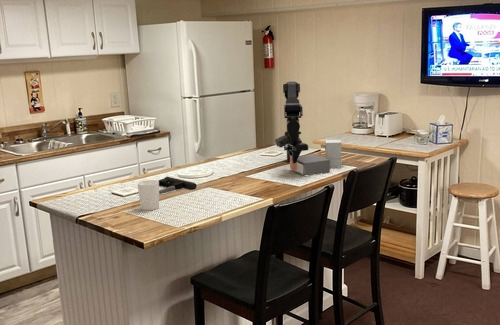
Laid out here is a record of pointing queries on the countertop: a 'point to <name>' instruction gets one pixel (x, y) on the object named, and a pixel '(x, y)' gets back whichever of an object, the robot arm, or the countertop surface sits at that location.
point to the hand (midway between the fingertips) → (293, 162)
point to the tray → (296, 166)
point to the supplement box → (333, 153)
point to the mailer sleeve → (314, 164)
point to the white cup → (149, 194)
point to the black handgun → (174, 184)
